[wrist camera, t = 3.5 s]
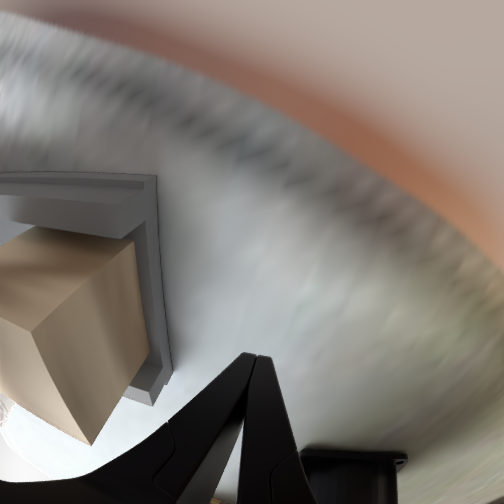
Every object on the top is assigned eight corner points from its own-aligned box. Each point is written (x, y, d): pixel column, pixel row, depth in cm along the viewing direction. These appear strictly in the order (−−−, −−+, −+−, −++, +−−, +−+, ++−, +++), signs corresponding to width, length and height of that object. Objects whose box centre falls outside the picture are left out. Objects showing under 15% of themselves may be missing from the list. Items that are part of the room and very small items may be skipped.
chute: (156, 175, 10) (93, 207, 7) (172, 373, 14) (144, 427, 11) (-44, 175, 12) (-84, 193, 9) (-13, 301, 16) (-42, 326, 13)
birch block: (134, 240, 10) (30, 332, 5) (150, 351, 12) (91, 446, 8) (36, 224, 11) (-55, 283, 6) (61, 322, 13) (-2, 390, 8)
